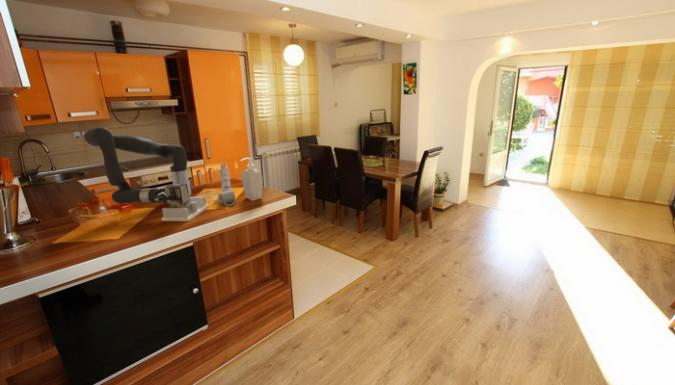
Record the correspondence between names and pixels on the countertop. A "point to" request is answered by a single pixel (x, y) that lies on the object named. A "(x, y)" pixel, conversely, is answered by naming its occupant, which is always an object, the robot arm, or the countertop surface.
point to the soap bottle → (252, 181)
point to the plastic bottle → (225, 178)
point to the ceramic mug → (227, 198)
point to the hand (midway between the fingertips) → (181, 195)
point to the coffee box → (178, 196)
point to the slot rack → (185, 210)
